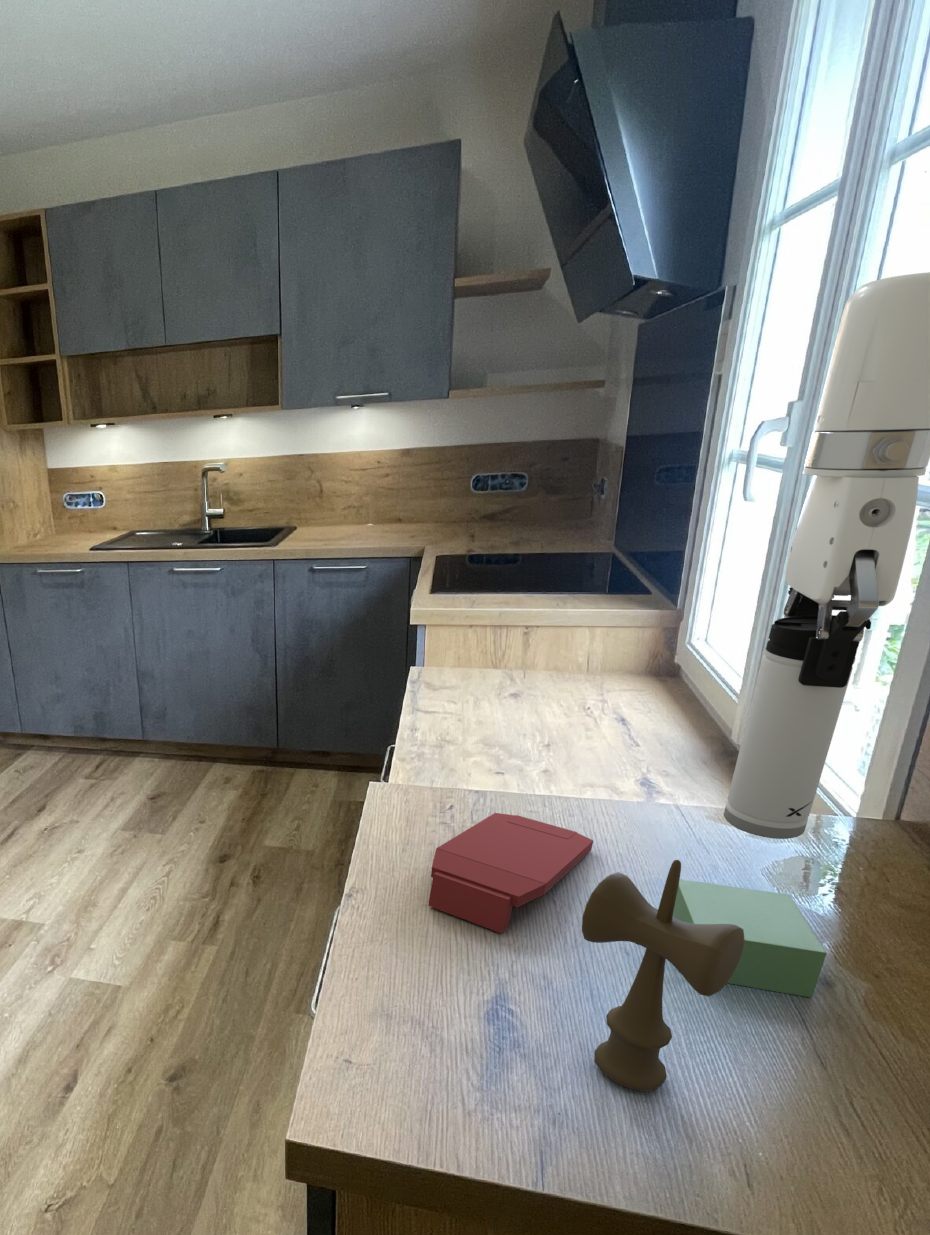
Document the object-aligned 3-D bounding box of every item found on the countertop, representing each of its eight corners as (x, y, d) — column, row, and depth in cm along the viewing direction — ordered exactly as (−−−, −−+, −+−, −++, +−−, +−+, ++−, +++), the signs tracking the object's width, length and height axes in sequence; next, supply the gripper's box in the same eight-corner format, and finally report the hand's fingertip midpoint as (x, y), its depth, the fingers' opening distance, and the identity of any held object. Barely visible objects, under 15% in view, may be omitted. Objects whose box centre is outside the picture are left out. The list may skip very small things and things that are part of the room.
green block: (777, 935, 81) (790, 894, 79) (812, 998, 72) (827, 953, 70) (666, 918, 84) (675, 878, 82) (686, 976, 75) (697, 932, 74)
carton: (492, 844, 107) (411, 899, 88) (498, 810, 105) (418, 859, 87) (588, 873, 99) (521, 940, 81) (596, 837, 98) (530, 897, 80)
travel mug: (811, 847, 70) (878, 627, 63) (723, 830, 73) (776, 619, 66) (805, 818, 75) (866, 611, 68) (722, 803, 78) (771, 605, 71)
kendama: (591, 1023, 70) (633, 823, 63) (709, 1092, 62) (771, 874, 55) (552, 1052, 67) (590, 846, 60) (670, 1128, 59) (731, 903, 52)
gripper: (986, 459, 53) (904, 709, 60) (879, 450, 68) (823, 650, 75) (851, 461, 56) (786, 701, 62) (776, 452, 71) (730, 646, 77)
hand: (807, 671), depth 69 cm, fingers closed on travel mug, 6 cm apart
